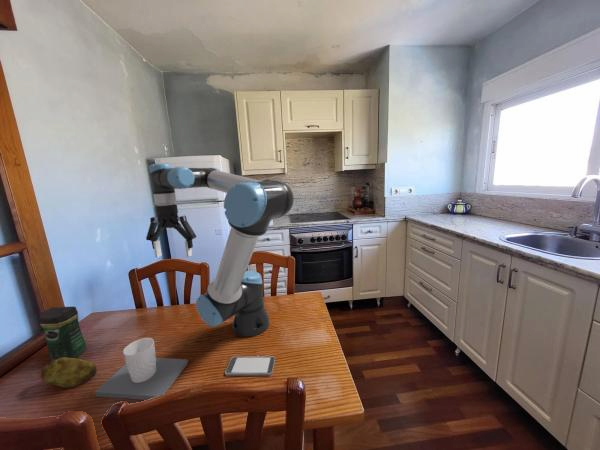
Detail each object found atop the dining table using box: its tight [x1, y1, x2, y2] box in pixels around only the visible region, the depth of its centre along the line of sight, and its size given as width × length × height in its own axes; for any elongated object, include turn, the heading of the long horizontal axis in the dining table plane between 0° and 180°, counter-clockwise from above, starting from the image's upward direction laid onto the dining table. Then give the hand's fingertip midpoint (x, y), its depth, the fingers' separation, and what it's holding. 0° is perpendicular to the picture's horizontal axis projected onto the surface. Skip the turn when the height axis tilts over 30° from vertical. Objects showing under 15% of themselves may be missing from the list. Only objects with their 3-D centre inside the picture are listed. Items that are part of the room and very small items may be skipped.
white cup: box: [122, 337, 157, 383], centre depth 74 cm, size 8×8×10 cm
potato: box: [40, 357, 97, 388], centre depth 75 cm, size 8×13×8 cm, turn 82°
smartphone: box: [224, 356, 276, 377], centre depth 78 cm, size 7×1×15 cm
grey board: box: [94, 357, 189, 401], centre depth 75 cm, size 20×14×2 cm
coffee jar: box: [38, 306, 87, 362], centre depth 86 cm, size 10×8×19 cm
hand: (174, 256), depth 98 cm, fingers open, 13 cm apart
